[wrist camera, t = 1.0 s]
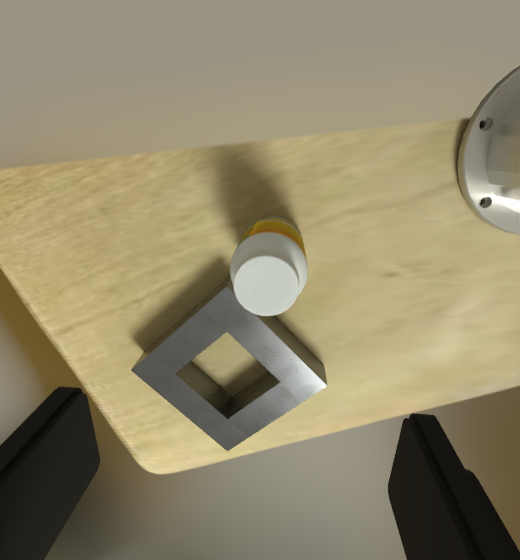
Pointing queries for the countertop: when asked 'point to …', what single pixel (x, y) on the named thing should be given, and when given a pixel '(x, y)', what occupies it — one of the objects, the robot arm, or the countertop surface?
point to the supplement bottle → (269, 266)
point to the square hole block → (205, 392)
